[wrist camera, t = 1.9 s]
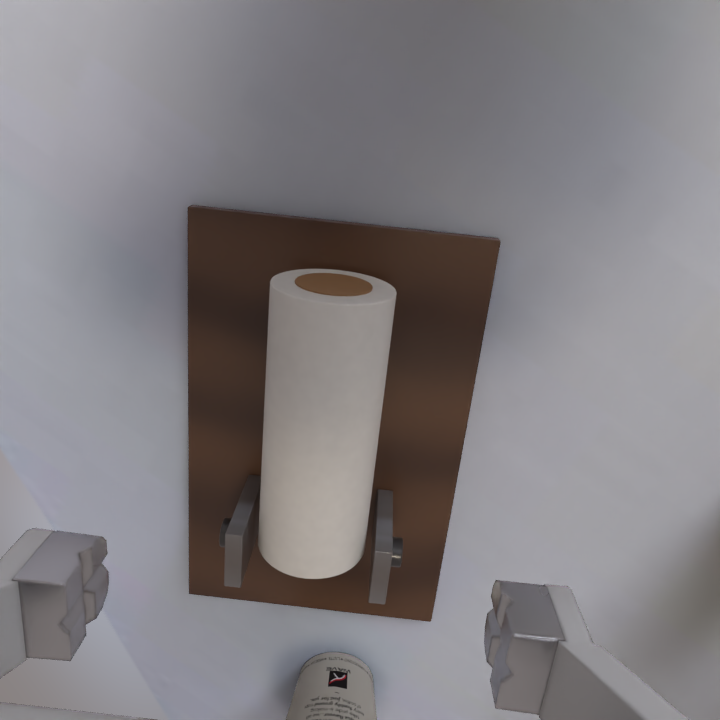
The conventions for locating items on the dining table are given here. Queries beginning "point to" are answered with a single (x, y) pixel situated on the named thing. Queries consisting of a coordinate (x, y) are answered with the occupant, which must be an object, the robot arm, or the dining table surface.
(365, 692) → the coffee cup
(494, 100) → the dining table surface
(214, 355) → the holder
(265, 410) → the paper roll
